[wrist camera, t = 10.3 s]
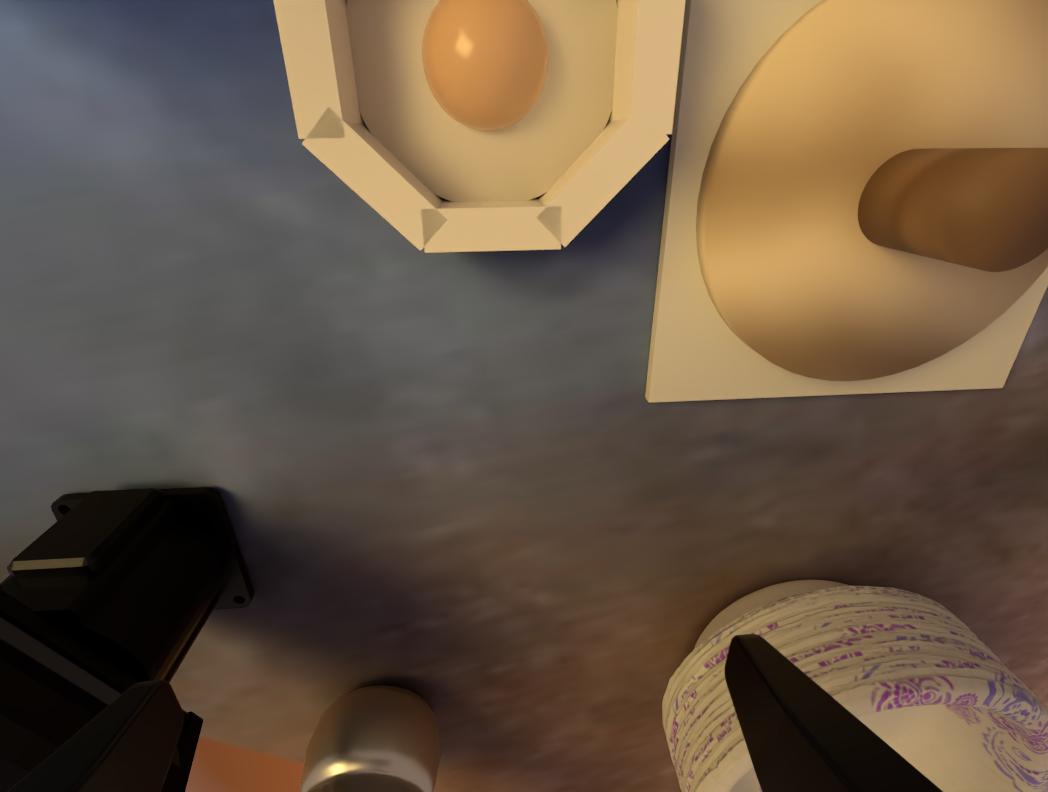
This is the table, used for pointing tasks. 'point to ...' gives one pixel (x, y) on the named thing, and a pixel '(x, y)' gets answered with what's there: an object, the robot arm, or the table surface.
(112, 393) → the table surface
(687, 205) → the mat
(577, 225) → the dish
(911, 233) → the lid
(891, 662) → the paper bowls
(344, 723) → the plastic bottle
